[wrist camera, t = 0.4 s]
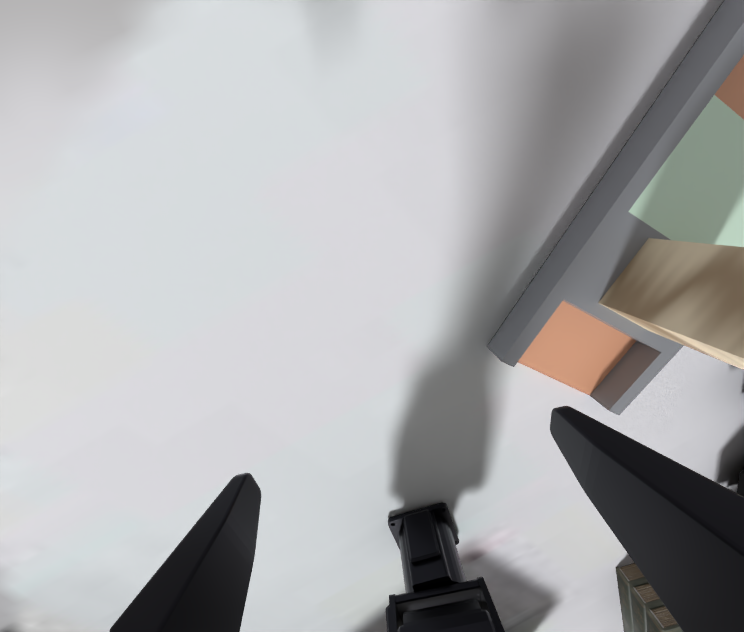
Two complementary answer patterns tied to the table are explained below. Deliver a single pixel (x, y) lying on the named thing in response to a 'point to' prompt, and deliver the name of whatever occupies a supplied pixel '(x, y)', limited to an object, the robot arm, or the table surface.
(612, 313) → the box
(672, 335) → the block
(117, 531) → the table surface
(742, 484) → the game console
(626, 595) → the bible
